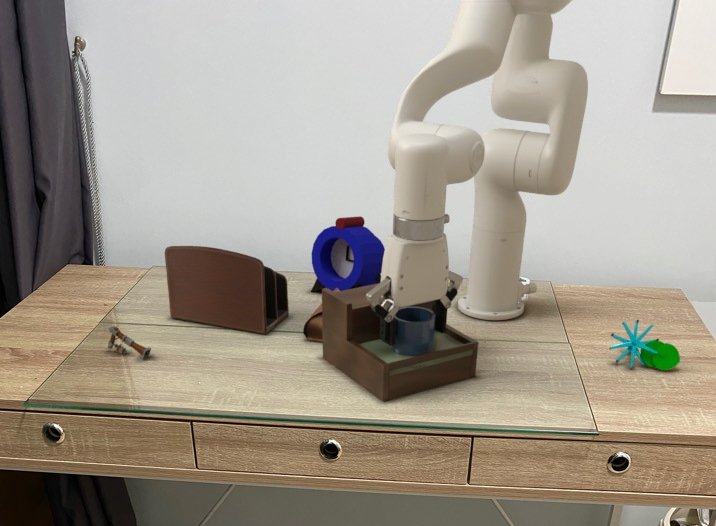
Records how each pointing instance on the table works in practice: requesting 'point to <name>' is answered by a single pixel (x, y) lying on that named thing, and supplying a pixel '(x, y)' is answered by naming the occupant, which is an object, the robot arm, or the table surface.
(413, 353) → the cup
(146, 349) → the brown branched rod
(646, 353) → the stick construction toy
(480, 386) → the table surface
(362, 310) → the brown wooden drawer box
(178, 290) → the letter holder
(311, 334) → the sunglasses case
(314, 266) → the alarm clock
